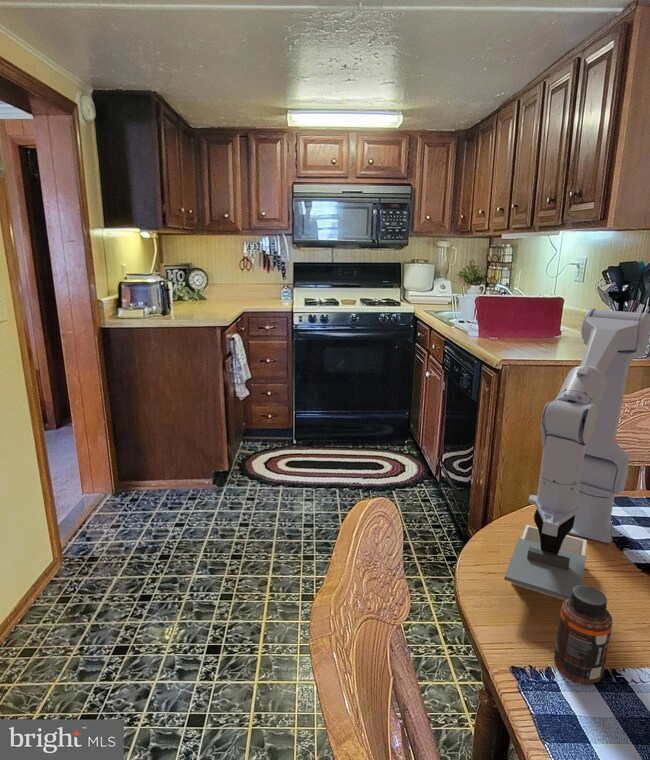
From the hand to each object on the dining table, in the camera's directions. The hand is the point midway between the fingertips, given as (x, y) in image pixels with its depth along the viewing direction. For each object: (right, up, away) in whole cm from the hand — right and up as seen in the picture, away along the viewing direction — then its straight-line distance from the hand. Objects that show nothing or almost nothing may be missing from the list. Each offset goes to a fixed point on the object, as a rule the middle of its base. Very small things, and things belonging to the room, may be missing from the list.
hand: (549, 554), depth 82 cm
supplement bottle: (-2, -10, -14) cm, 18 cm away
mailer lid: (-1, -2, -2) cm, 3 cm away
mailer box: (+2, -5, +6) cm, 8 cm away
